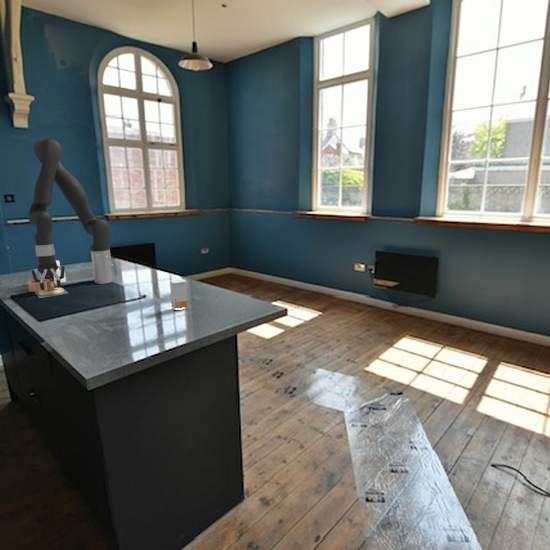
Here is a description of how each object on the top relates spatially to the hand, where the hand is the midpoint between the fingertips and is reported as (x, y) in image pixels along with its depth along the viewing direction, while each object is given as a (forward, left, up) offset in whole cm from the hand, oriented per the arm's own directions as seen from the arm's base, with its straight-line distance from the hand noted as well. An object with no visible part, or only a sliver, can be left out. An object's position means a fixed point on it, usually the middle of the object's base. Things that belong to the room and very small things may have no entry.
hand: (51, 288), depth 180 cm
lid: (0, 0, -2) cm, 2 cm away
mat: (0, 0, -3) cm, 3 cm away
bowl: (+3, -12, -3) cm, 13 cm away
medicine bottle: (-6, -24, -3) cm, 24 cm away
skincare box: (-36, +62, -3) cm, 72 cm away
